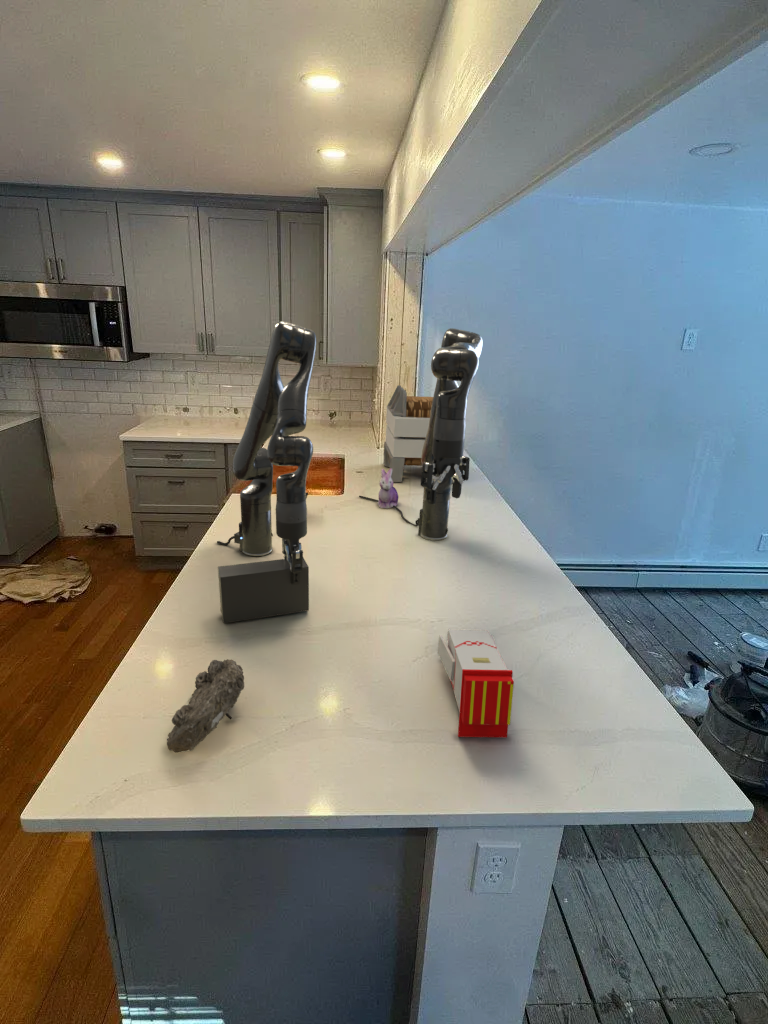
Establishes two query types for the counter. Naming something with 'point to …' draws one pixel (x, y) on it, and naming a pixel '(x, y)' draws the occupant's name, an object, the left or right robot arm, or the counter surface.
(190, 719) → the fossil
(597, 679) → the counter surface
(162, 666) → the counter surface
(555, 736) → the counter surface
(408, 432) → the transformer
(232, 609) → the box
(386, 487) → the figurine
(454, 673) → the toy
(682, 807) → the counter surface
